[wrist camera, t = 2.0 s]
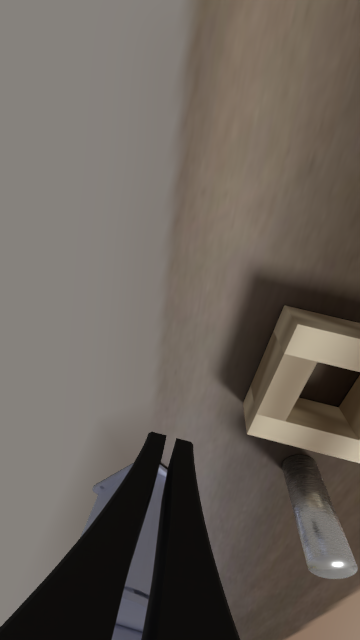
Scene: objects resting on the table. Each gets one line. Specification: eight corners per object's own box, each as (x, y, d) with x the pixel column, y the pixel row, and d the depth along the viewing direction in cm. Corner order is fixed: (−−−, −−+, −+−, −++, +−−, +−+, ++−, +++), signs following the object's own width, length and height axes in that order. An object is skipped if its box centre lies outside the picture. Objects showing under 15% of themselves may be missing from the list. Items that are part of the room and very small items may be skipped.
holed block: (242, 403, 20) (247, 434, 17) (284, 305, 16) (297, 324, 14) (351, 431, 20) (372, 466, 17) (419, 337, 16) (461, 363, 13)
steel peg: (293, 480, 23) (323, 582, 17) (275, 462, 23) (298, 561, 16) (323, 469, 22) (366, 573, 16) (304, 450, 21) (341, 550, 15)
